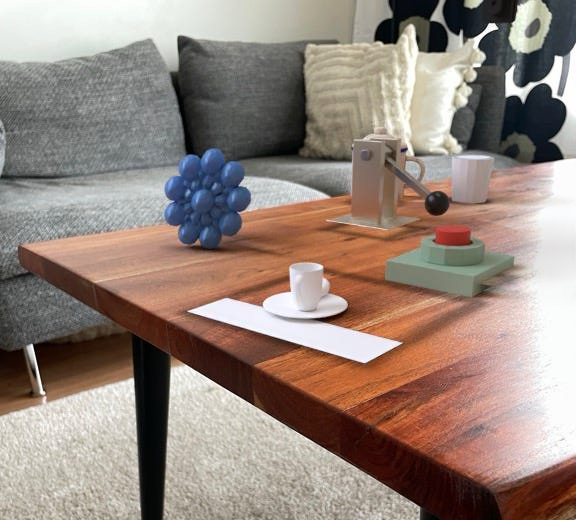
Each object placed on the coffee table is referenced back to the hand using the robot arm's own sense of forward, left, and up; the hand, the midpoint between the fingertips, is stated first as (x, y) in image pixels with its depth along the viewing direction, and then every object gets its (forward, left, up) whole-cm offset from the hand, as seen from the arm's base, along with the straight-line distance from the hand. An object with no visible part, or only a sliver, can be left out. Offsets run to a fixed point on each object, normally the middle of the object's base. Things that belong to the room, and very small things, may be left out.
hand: (498, 22), depth 78 cm
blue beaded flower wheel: (+27, +18, -25) cm, 41 cm away
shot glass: (+16, -32, -25) cm, 44 cm away
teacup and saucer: (+1, +28, -25) cm, 38 cm away
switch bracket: (+17, -4, -25) cm, 31 cm away
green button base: (-3, +13, -25) cm, 28 cm away
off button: (-3, +13, -22) cm, 25 cm away
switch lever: (+13, -4, -19) cm, 24 cm away
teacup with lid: (+26, -22, -25) cm, 42 cm away
